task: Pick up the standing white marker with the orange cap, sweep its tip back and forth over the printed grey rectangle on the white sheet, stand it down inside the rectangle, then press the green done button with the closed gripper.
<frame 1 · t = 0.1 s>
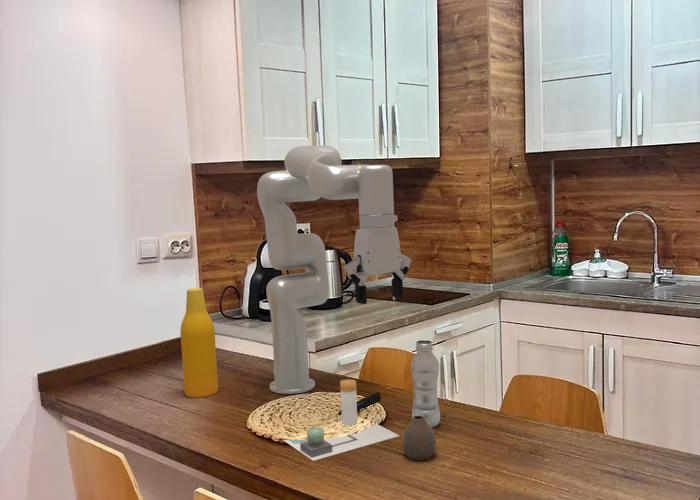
hand: (379, 300, 154), 31 cm above the countertop, fingers open, 9 cm apart
plastic bottle: (426, 427, 163), on the countertop
sheet: (338, 438, 158), on the countertop
beer bottle: (201, 393, 195), on the countertop
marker: (349, 423, 165), point 1 cm above the countertop, touching sheet
button housing: (316, 450, 150), resting on sheet
vase: (419, 459, 146), on the countertop
electric trimmer: (360, 411, 176), on the countertop
done button: (315, 434, 150), point 4 cm above the countertop, slide at 0.0 cm
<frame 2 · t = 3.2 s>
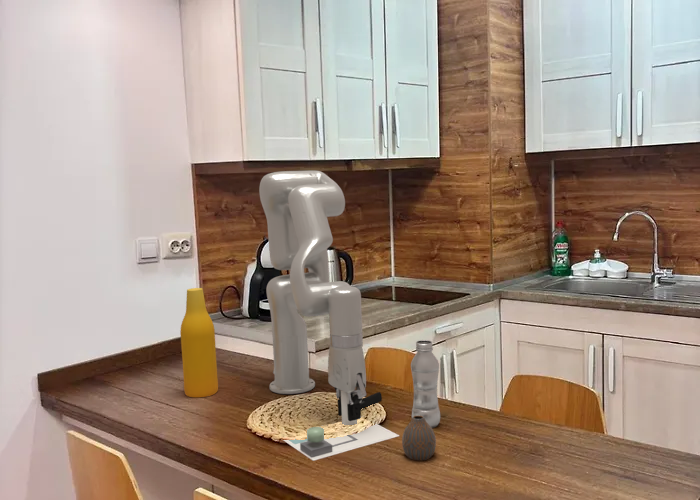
hand: (349, 416, 165), 2 cm above the countertop, fingers closed on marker, 3 cm apart
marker: (349, 423, 165), point 1 cm above the countertop, touching gripper, sheet
everything else where it was.
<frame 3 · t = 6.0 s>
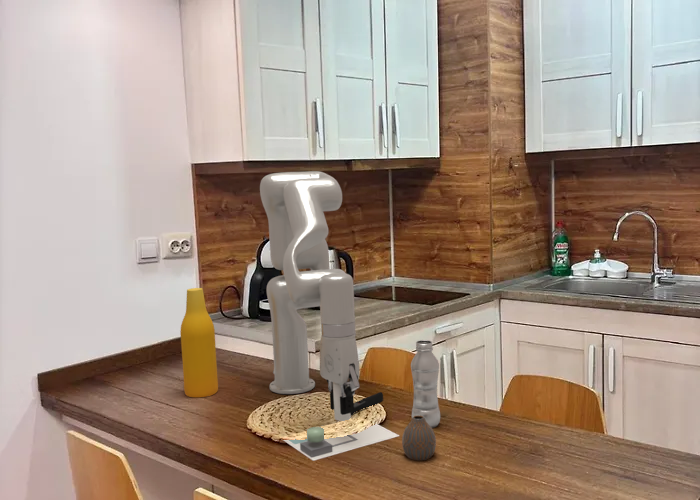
hand: (342, 409, 157), 7 cm above the countertop, fingers closed on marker, 3 cm apart
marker: (342, 417, 157), point 5 cm above the countertop, touching gripper
everything else where it was.
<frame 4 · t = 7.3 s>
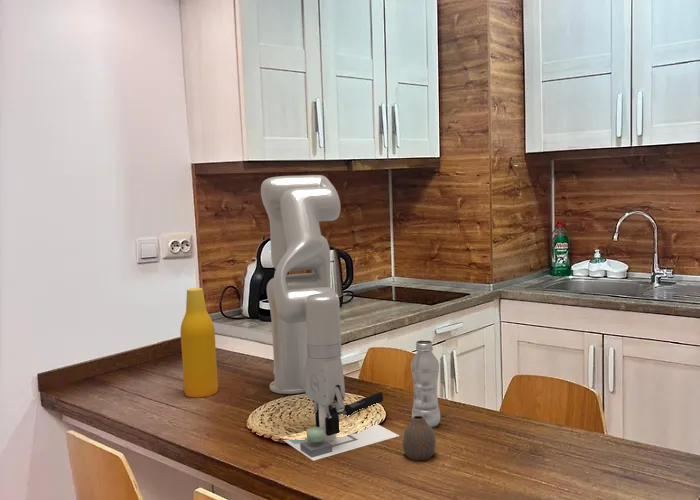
hand: (327, 430, 156), 3 cm above the countertop, fingers closed on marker, 3 cm apart
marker: (328, 438, 156), point 1 cm above the countertop, touching gripper
everything else where it was.
when the fingers open (2 cm above the countertop, at t = 9.1 s): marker stays where it is, resting on sheet.
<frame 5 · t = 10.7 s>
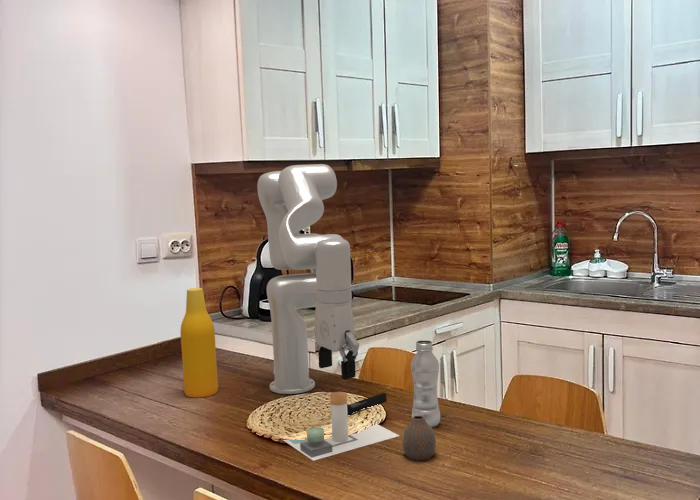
hand: (336, 372, 155), 16 cm above the countertop, fingers open, 9 cm apart
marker: (340, 438, 156), point 1 cm above the countertop, touching sheet
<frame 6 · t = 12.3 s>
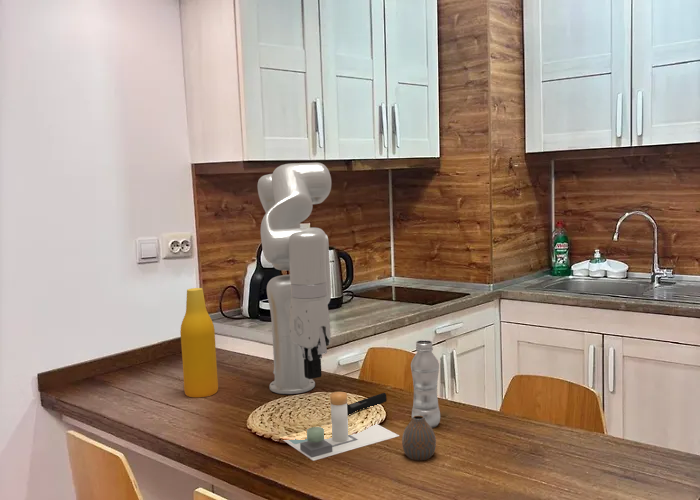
hand: (313, 377, 148), 17 cm above the countertop, fingers closed
nothing on the countertop moved.
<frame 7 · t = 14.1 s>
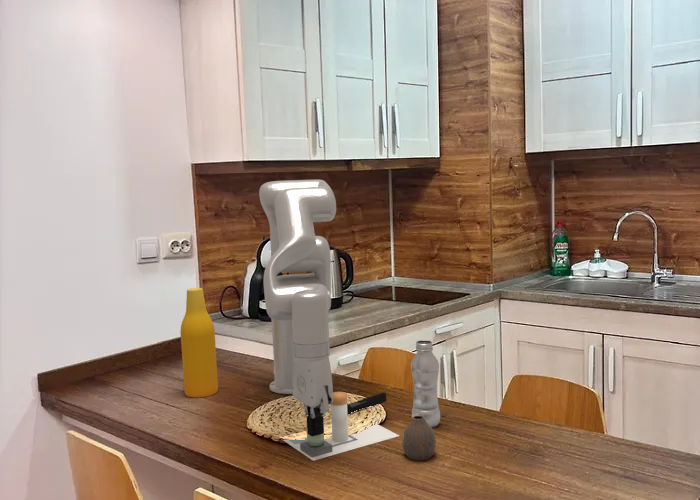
hand: (315, 433, 149), 4 cm above the countertop, fingers closed
done button: (315, 438, 150), point 3 cm above the countertop, slide at -0.8 cm, touching gripper
everything else where it was.
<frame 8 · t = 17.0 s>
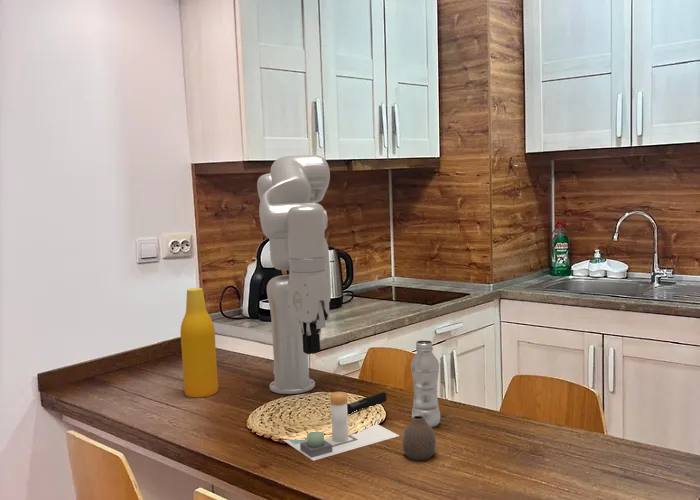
hand: (311, 352, 147), 22 cm above the countertop, fingers closed
done button: (315, 439, 150), point 3 cm above the countertop, slide at -1.0 cm
everything else where it was.
at the end: done button slide at -1.0 cm; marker inside the target area (1.6 cm from its centre), point 0.6 cm above the countertop; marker tilted 0° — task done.
